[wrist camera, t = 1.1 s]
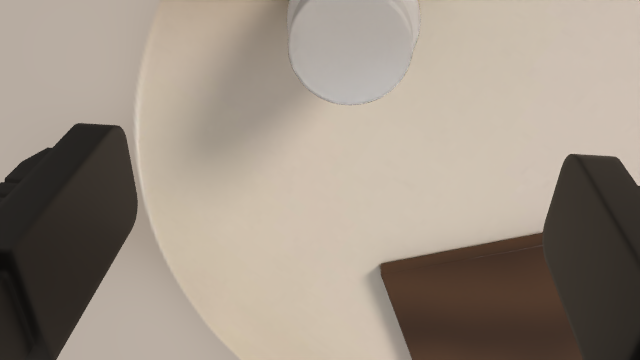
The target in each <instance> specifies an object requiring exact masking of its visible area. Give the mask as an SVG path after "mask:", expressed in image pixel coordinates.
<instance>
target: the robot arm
mask: <svg viewBox="0 0 640 360" xmlns="http://www.w3.org/2000/svg"><path fill="white" fill-rule="evenodd" d="M137 203H138V201H137V192H136V187H135V182H134V176H133V171H132V165H131V160H130V155H129V150H128V144H127V139H126V135H125V133H124V131H123V129H122V128H121V127H120V126H116V125H99V124H84V123H78V124H76V125H74V126H73V127H72V128H71V129H70V130H69V131H68V132H67V133H66V134H65V135H64V136H63V137H62V139H61V140H60V141H59V142H58V143H57V144H56V145H55V146H54V147H53V148H46V149H45V150H43V151H41V152H39V153H37V154H35V155H33V156H31V157H30V158H28V159H26V160H24V161H22V162H21V163H20V164H19V165H18V166H17V167H16V168H15V169H14V170H13V171H12V172H11V173H10V174H9V175H8V176H7V177H6V178H5V182H1V183H0V360H56V359H57V357H58V356H59V354H60V352H61V350H62V349H63V347H64V345H65V343H66V342H67V340H68V338H69V337H70V335H71V333H72V331H73V330H74V328H75V326H76V325H77V323H78V321H79V319H80V318H81V316H82V314H83V312H84V311H85V309H86V307H87V305H88V304H89V302H90V300H91V299H92V297H93V295H94V293H95V292H96V290H97V288H98V287H99V285H100V283H101V281H102V280H103V278H104V276H105V275H106V273H107V271H108V269H109V268H110V266H111V264H112V263H113V261H114V259H115V257H116V256H117V254H118V252H119V250H120V249H121V247H122V245H123V244H124V242H125V240H126V238H127V237H128V235H129V233H130V232H131V230H132V228H133V225H134V223H135V220H136V214H137V206H138V205H137ZM542 244H543V253H544V258H545V261H546V263H547V266H548V269H549V271H550V274H551V276H552V279H553V282H554V284H555V287H556V290H557V292H558V295H559V298H560V300H561V303H562V306H563V308H564V311H565V313H566V316H567V319H568V321H569V324H570V327H571V329H572V332H573V335H574V337H575V340H576V342H577V345H578V348H579V350H580V353H581V356H582V358H583V360H640V186H638V185H637V184H636V183H635V181H634V180H633V178H632V177H631V175H630V174H629V173H628V171H627V170H626V168H625V167H624V165H623V164H622V163H621V161H620V160H619V159H618V158H617V157H614V156H597V155H580V154H570V155H568V156H567V157H566V159H565V161H564V163H563V165H562V168H561V171H560V174H559V178H558V181H557V184H556V188H555V191H554V194H553V197H552V201H551V204H550V207H549V211H548V214H547V217H546V220H545V224H544V229H543V238H542Z"/></svg>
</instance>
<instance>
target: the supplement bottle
mask: <svg viewBox="0 0 640 360" xmlns="http://www.w3.org/2000/svg"><path fill="white" fill-rule="evenodd" d="M420 21H421V12H420V4H419V0H289V6H288V10H287V30H288V54H289V59H290V63H291V65H292V68H293V70H294V72H295V74H296V76H297V77H298V79H299V80H300V81H301V82H302V84H303V85H304V86H305V87H306V88H307V89H308V90H309V91H311V92H312V93H313V94H315V95H316V96H318V97H320V98H322V99H324V100H326V101H329V102H332V103H336V104H341V105H359V104H365V103H369V102H372V101H375V100H377V99H379V98H381V97H383V96H384V95H386V94H387V93H389V92H390V91H391V90H392V89H394V88H395V87H396V86H397V84H398V83H399V82H400V81H401V80H402V78H403V76H404V75H405V73H406V72H407V69H408V67H409V65H410V61H411V58H412V53H413V50H414V47H415V45H416V43H417V39H418V36H419V30H420Z"/></svg>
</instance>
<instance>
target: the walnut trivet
mask: <svg viewBox="0 0 640 360" xmlns="http://www.w3.org/2000/svg"><path fill="white" fill-rule="evenodd" d="M542 238H543V233H540V234H535V235H530V236H524V237H519V238H514V239H509V240H503V241H498V242H493V243H488V244H482V245H477V246H472V247H467V248H462V249H456V250H451V251H446V252H441V253H435V254H430V255H425V256H420V257H414V258H409V259H404V260H399V261H394V262H388V263H383V264H381V276H382V279H383V282H384V284H385V287H386V290H387V292H388V295H389V298H390V301H391V303H392V306H393V309H394V311H395V314H396V317H397V319H398V322H399V325H400V328H401V330H402V333H403V336H404V338H405V341H406V344H407V346H408V349H409V352H410V355H411V357H412V360H583V358H582V356H581V353H580V350H579V348H578V345H577V342H576V340H575V337H574V335H573V332H572V329H571V327H570V324H569V321H568V319H567V316H566V313H565V311H564V308H563V306H562V303H561V300H560V298H559V295H558V292H557V290H556V287H555V284H554V282H553V279H552V276H551V274H550V271H549V269H548V266H547V263H546V261H545V258H544V253H543V244H542Z"/></svg>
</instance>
